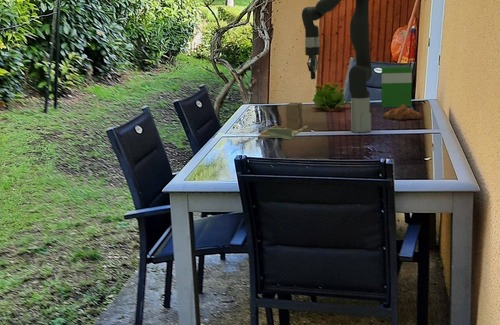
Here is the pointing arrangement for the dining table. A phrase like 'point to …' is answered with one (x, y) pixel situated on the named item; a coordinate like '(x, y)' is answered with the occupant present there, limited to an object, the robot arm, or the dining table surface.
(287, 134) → the tray
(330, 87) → the green leafy plant
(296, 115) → the walnut block
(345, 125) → the dining table surface
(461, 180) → the dining table surface
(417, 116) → the pastry
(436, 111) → the dining table surface
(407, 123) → the dining table surface
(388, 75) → the hardback book
